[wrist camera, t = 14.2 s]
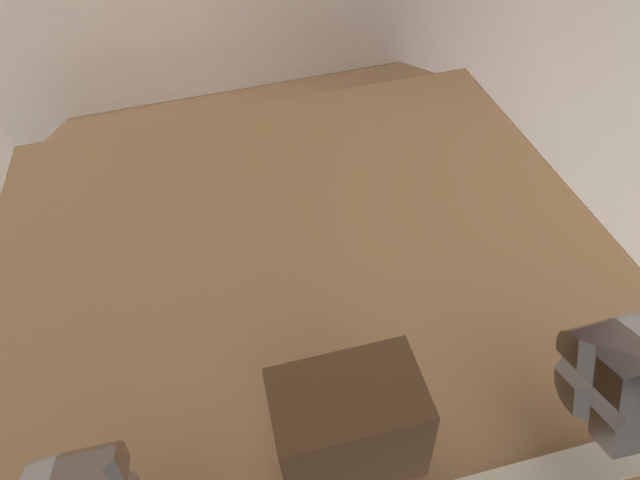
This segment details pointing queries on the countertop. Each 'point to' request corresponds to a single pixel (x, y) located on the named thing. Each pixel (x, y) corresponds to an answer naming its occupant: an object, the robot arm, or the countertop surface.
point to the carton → (234, 99)
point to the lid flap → (304, 293)
